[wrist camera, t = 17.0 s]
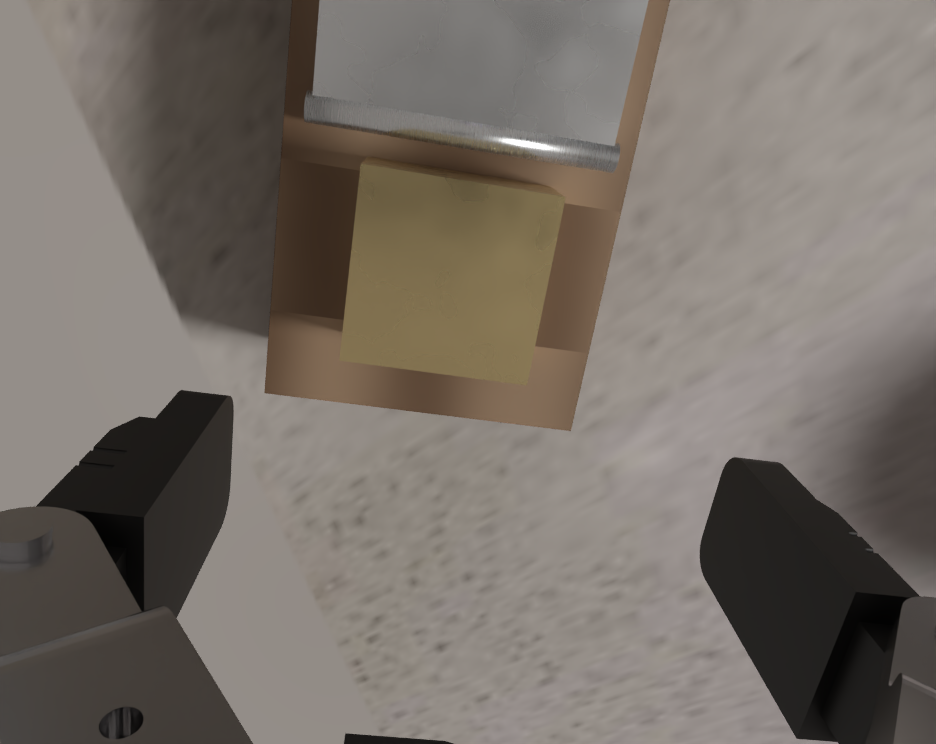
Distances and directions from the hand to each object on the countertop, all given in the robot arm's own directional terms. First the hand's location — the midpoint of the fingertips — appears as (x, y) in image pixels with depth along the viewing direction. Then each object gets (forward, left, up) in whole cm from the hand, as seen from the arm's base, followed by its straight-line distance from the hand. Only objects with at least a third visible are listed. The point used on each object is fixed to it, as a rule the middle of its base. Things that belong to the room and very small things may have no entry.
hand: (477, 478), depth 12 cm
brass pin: (0, 0, -21) cm, 21 cm away
